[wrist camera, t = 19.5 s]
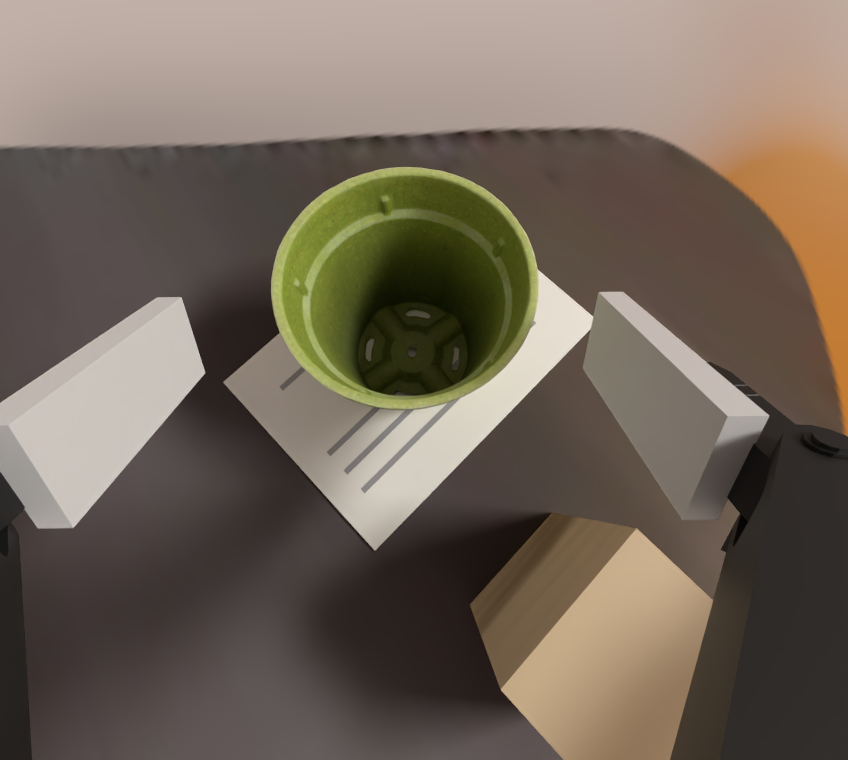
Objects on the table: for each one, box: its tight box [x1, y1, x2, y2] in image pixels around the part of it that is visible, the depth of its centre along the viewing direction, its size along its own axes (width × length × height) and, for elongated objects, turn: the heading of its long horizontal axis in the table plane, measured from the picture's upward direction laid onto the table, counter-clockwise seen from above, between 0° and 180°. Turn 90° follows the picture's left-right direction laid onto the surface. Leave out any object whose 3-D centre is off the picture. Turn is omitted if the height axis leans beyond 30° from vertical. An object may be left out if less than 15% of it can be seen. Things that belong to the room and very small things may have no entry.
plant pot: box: [271, 167, 539, 410], centre depth 19 cm, size 9×9×9 cm
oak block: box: [470, 513, 713, 760], centre depth 16 cm, size 6×6×9 cm
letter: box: [223, 270, 593, 550], centre depth 24 cm, size 12×17×1 cm
